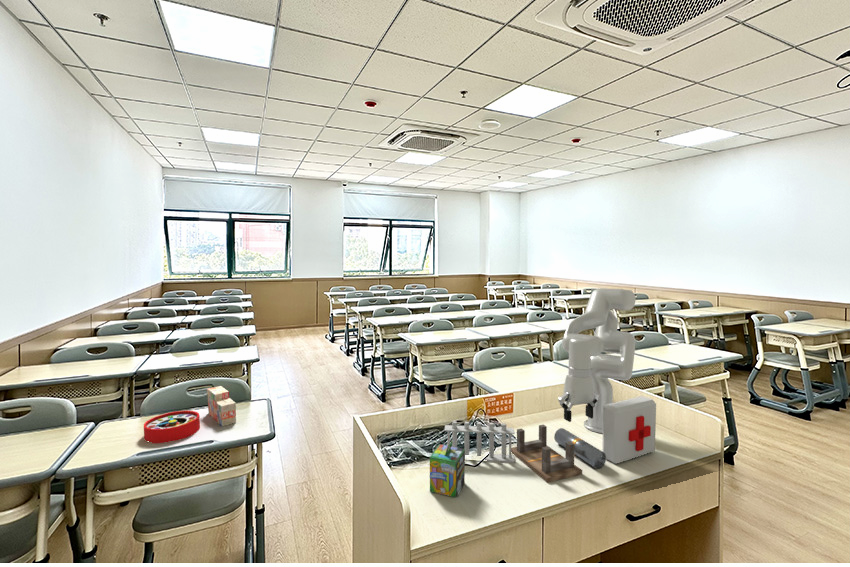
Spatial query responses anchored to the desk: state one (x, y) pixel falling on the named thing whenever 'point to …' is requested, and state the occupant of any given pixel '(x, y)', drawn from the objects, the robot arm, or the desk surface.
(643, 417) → the bevelled white case
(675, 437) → the desk surface
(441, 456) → the chalk box
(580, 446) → the grey cylinder
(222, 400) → the stack of blocks
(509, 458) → the test tube rack
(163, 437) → the toy clock
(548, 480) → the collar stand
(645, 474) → the desk surface
